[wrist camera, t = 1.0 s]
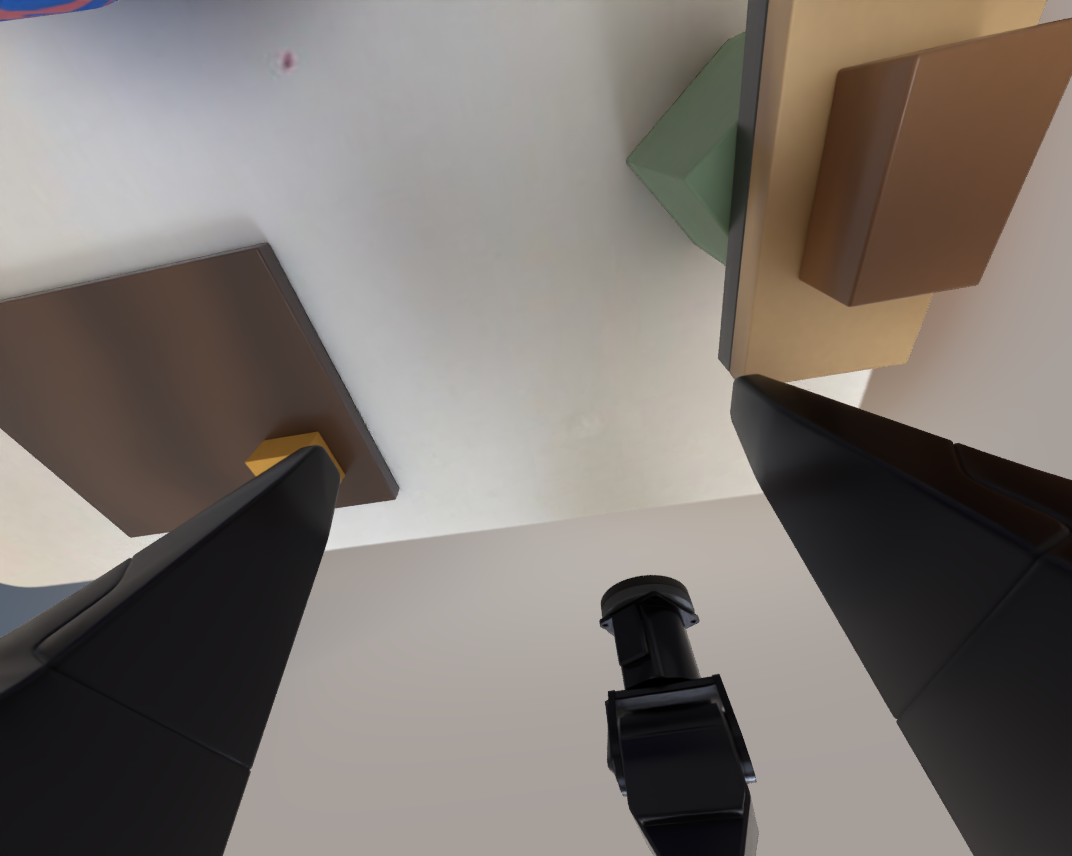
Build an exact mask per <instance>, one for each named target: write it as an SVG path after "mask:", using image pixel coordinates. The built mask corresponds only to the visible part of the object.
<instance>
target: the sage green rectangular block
mask: <svg viewBox="0 0 1072 856" xmlns="http://www.w3.org/2000/svg"><path fill="white" fill-rule="evenodd" d="M745 34H746V31H745V32H743V33H741V34H739V35H736V36H734V37H732V38H730V39H728V40H727V41H726V43H725V44H724V45H723V46H722V47H721V48H720V50H719V51H718V52H717V53H716V54H715V55H714V57H713V58H712V59H711V60H710V61H709V63H708V64H707V65H706V66H705V67H704V68H703V70H702V71H701V72H700V73H699V74H698V76H697V77H696V78H695V79H694V80H693V81H692V83H691V84H690V85H689V86H688V87H687V89H686V90H685V91H684V92H683V93H682V94H681V96H680V97H679V98H678V99H677V100H676V102H675V103H674V104H673V105H672V106H671V107H670V109H669V110H668V111H667V112H666V113H665V115H664V116H663V117H662V118H661V119H660V120H659V122H658V123H657V124H656V125H655V126H654V128H653V129H652V130H651V131H650V132H649V133H648V135H647V136H646V137H645V138H644V139H643V141H642V142H641V143H640V144H639V145H638V146H637V148H636V149H635V150H634V151H633V152H632V154H631V155H630V156H629V157H628V158H627V160H626V163H627V164H628V165H629V166H630V167H631V169H632V170H633V171H634V172H635V173H636V175H637V176H638V177H639V178H640V179H641V181H642V182H643V183H644V184H645V185H646V186H647V188H648V189H649V190H650V191H651V192H652V194H653V195H654V196H655V197H656V198H657V200H658V201H659V202H660V203H661V204H662V206H663V207H664V208H665V209H666V210H667V212H668V213H669V214H670V215H671V216H672V217H673V219H674V220H675V221H676V222H677V223H678V225H679V226H680V227H681V228H682V229H683V231H684V232H685V233H686V234H687V235H688V237H689V238H690V239H691V240H692V241H693V242H694V244H695V245H696V246H698V247H699V248H701V249H702V250H704V251H705V252H706V253H708V254H709V255H711V256H712V257H714V258H715V259H717V260H718V261H719V262H721V263H722V264H724V265H725V266H726V259H727V247H728V235H729V223H730V211H731V199H732V188H733V176H734V164H735V152H736V140H737V128H738V117H739V105H740V93H741V81H742V69H743V57H744V46H745Z"/></svg>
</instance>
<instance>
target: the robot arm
mask: <svg viewBox="0 0 1072 856" xmlns="http://www.w3.org/2000/svg"><path fill="white" fill-rule="evenodd" d="M730 415H731V420H732V423H733V425H734V428H735V430H736V432H737V435H738V437H739V440H740V442H741V444H742V447H743V449H744V451H745V454H746V456H747V459H748V461H749V463H750V466H751V468H752V470H753V473H754V475H755V477H756V479H757V481H758V483H759V485H760V487H761V489H762V491H763V492H764V494H765V496H766V497H767V499H768V501H769V503H770V504H771V506H772V508H773V510H774V511H775V513H776V515H777V516H778V518H779V520H780V522H781V523H782V525H783V527H784V529H785V530H786V532H787V534H788V535H789V537H790V539H791V541H792V542H793V544H794V546H795V548H796V549H797V551H798V553H799V554H800V556H801V558H802V560H803V561H804V563H805V565H806V566H807V568H808V570H809V572H810V573H811V575H812V577H813V578H814V580H815V582H816V584H817V585H818V587H819V589H820V591H821V592H822V594H823V596H824V598H825V599H826V601H827V603H828V604H829V606H830V608H831V609H832V611H833V613H834V615H835V616H836V618H837V620H838V622H839V623H840V625H841V627H842V629H843V630H844V632H845V634H846V635H847V637H848V639H849V641H850V642H851V644H852V646H853V647H854V649H855V651H856V653H857V654H858V656H859V658H860V660H861V661H862V663H863V665H864V667H865V668H866V670H867V672H868V673H869V675H870V677H871V679H872V680H873V682H874V684H875V686H876V687H877V689H878V691H879V692H880V694H881V696H882V698H883V699H884V701H885V703H886V704H887V706H888V708H889V709H890V711H891V713H892V715H893V716H894V717H895V718H896V719H897V724H898V726H899V728H900V729H901V731H902V733H903V735H904V736H905V738H906V740H907V741H908V743H909V745H910V747H911V748H912V750H913V752H914V753H915V755H916V757H917V758H918V760H919V762H920V764H921V766H922V767H923V769H924V771H925V772H926V774H927V776H928V778H929V779H930V781H931V783H932V785H933V786H934V788H935V790H936V791H937V793H938V795H939V796H940V798H941V800H942V802H943V804H944V805H945V807H946V808H947V810H948V812H949V814H950V815H951V817H952V819H953V821H954V822H955V824H956V826H957V828H958V829H959V831H960V833H961V834H962V836H963V838H964V840H965V841H966V843H967V845H968V847H969V848H970V850H971V852H972V853H973V855H974V856H1072V480H1070V479H1066V478H1063V477H1060V476H1057V475H1053V474H1050V473H1047V472H1044V471H1040V470H1037V469H1034V468H1031V467H1028V466H1025V465H1022V464H1019V463H1016V462H1013V461H1010V460H1006V459H1004V458H1001V457H998V456H995V455H991V454H988V453H986V452H982V451H980V450H977V449H974V448H971V447H968V446H966V445H962V444H960V443H955V444H953V442H952V441H951V440H948V439H945V438H942V437H939V436H937V435H934V434H931V433H928V432H925V431H922V430H919V429H916V428H913V427H910V426H908V425H905V424H902V423H899V422H896V421H893V420H890V419H887V418H885V417H882V416H879V415H876V414H873V413H870V412H867V411H864V410H861V409H859V408H856V407H853V406H850V405H847V404H844V403H841V402H838V401H836V400H833V399H830V398H827V397H824V396H821V395H818V394H815V393H812V392H810V391H807V390H804V389H801V388H798V387H795V386H792V385H789V384H787V383H784V382H781V381H778V380H775V379H772V378H769V377H766V376H763V375H761V374H750V375H744V376H739V377H737V378H736V379H735V381H734V383H733V391H732V400H731V409H730ZM340 482H341V477H340V473H339V470H338V469H337V467H336V465H335V464H334V462H333V461H332V459H331V457H330V456H329V454H328V453H327V451H326V450H325V448H324V447H322V446H320V445H313V446H306V447H302V448H300V449H298V450H296V451H295V452H293V453H292V454H290V455H289V456H287V457H286V458H284V459H282V460H281V461H279V462H278V463H276V464H275V465H273V466H272V467H270V468H268V469H267V470H265V471H264V472H262V473H261V474H259V475H258V476H256V477H255V478H253V479H251V480H250V481H248V482H247V483H245V484H244V485H242V486H241V487H239V488H237V489H236V490H234V491H233V492H231V493H230V494H228V495H227V496H225V497H224V498H222V499H220V500H219V501H217V502H216V503H214V504H213V505H211V506H210V507H208V508H206V509H205V510H203V511H202V512H200V513H199V514H197V515H196V516H194V517H193V518H191V519H189V520H188V521H186V522H185V523H183V524H182V525H180V526H179V527H177V528H175V529H174V530H172V531H171V532H169V533H168V534H166V535H165V536H163V537H162V538H160V539H158V540H157V541H155V542H154V543H152V544H151V545H149V546H148V547H146V548H144V549H143V550H141V551H140V552H138V553H137V554H135V555H134V556H133V558H129V559H127V560H126V561H124V562H123V563H121V564H120V565H118V566H116V567H115V568H113V569H112V570H110V571H109V572H107V573H106V574H104V575H102V576H101V577H99V578H98V579H96V580H94V581H93V582H91V583H90V584H88V585H87V586H85V587H83V588H82V589H80V590H79V591H77V592H75V593H74V594H72V595H71V596H69V597H67V598H66V599H64V600H62V601H61V602H59V603H58V604H56V605H54V606H53V607H51V608H49V609H48V610H46V611H45V612H43V613H41V614H40V615H38V616H36V617H35V618H33V619H31V620H30V621H28V622H26V623H25V624H23V625H21V626H20V627H18V628H16V629H15V630H13V631H11V632H10V633H8V634H6V635H5V636H3V637H1V638H0V856H223V854H224V850H225V848H226V845H227V841H228V838H229V836H230V833H231V830H232V826H233V824H234V821H235V817H236V815H237V811H238V809H239V806H240V802H241V800H242V797H243V793H244V790H245V788H246V784H247V782H248V778H249V776H250V769H251V768H252V766H253V762H254V759H255V757H256V753H257V751H258V748H259V744H260V742H261V739H262V736H263V732H264V729H265V727H266V723H267V721H268V718H269V714H270V712H271V709H272V706H273V703H274V700H275V697H276V694H277V691H278V688H279V685H280V682H281V679H282V676H283V673H284V670H285V667H286V664H287V661H288V658H289V655H290V652H291V649H292V646H293V643H294V640H295V637H296V634H297V631H298V628H299V625H300V622H301V619H302V616H303V613H304V610H305V607H306V604H307V600H308V598H309V595H310V592H311V589H312V586H313V582H314V580H315V577H316V574H317V571H318V568H319V565H320V562H321V559H322V556H323V553H324V550H325V547H326V544H327V540H328V536H329V532H330V528H331V523H332V519H333V514H334V510H335V505H336V500H337V496H338V491H339V487H340ZM599 622H600V627H602V628H604V629H606V630H608V631H610V632H612V633H614V637H615V643H616V649H617V655H618V661H619V665H620V666H621V670H622V675H623V681H624V687H625V690H621V691H615V690H613V691H608V700H607V701H605V706H606V714H607V723H608V746H607V763H608V768H609V769H610V770H611V771H612V772H613V773H614V774H615V776H616V779H617V782H618V784H619V787H620V790H621V793H622V795H623V796H624V797H626V796H627V799H628V805H629V809H630V811H631V813H632V815H633V817H634V819H635V821H636V823H637V825H638V827H639V830H640V831H641V834H642V836H643V838H644V839H645V842H646V844H647V845H648V847H649V849H650V851H651V852H652V854H653V856H756V849H757V842H758V835H759V832H758V826H757V822H756V817H755V813H754V809H753V805H752V801H751V796H750V792H749V788H748V786H747V784H749V783H756V777H755V773H754V770H753V767H752V763H751V760H750V757H749V754H748V751H747V748H746V745H745V742H744V739H743V736H742V733H741V730H740V728H739V725H738V723H737V720H736V717H735V714H734V712H733V709H732V706H731V704H730V701H729V698H728V696H727V693H726V690H725V688H724V685H723V682H722V680H721V677H720V674H715V675H712V676H711V677H705V678H701V677H700V673H699V670H698V667H697V664H696V660H695V657H694V654H693V651H692V648H691V644H690V641H689V638H688V635H687V632H686V629H687V628H689V627H691V626H693V625H695V624H697V623H698V622H699V617H698V615H696V614H695V613H693V612H691V611H690V610H688V609H686V608H685V607H683V606H681V605H679V604H678V603H676V602H674V601H673V600H671V599H669V598H668V597H666V596H664V595H663V594H661V593H659V592H657V591H651V592H649V593H647V594H645V595H643V596H642V597H640V598H638V599H636V600H634V601H633V602H631V603H629V604H627V605H625V606H624V607H622V608H620V609H618V610H616V611H615V612H613V613H611V614H609V615H607V616H606V617H604V618H602V619H600V621H599Z"/></svg>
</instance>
